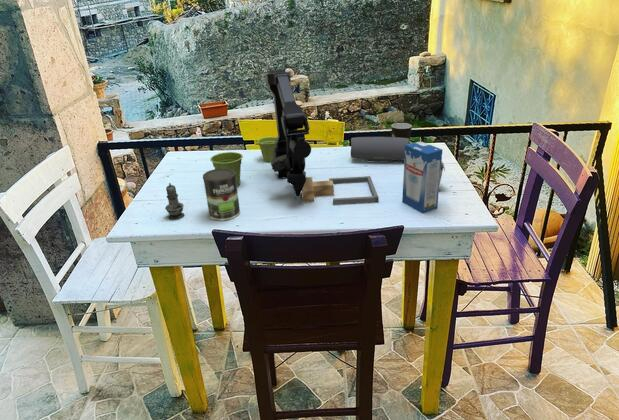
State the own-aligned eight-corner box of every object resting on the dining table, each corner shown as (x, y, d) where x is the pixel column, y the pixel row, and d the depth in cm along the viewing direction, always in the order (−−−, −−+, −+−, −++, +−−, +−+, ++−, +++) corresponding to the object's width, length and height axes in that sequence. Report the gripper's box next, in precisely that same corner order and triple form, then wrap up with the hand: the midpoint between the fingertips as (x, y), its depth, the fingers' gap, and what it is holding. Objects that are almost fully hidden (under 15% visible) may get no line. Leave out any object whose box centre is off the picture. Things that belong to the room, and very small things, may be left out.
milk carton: (402, 202, 151) (405, 144, 142) (416, 197, 154) (420, 141, 145) (422, 213, 143) (427, 153, 134) (437, 208, 146) (442, 149, 137)
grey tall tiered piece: (169, 212, 152) (162, 179, 147) (186, 211, 152) (180, 178, 147) (165, 221, 147) (158, 187, 141) (184, 219, 147) (177, 185, 142)
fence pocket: (333, 204, 152) (333, 200, 151) (329, 182, 168) (329, 178, 167) (378, 202, 152) (378, 197, 151) (370, 180, 168) (370, 176, 167)
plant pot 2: (257, 157, 195) (255, 138, 191) (278, 154, 198) (277, 135, 194) (261, 165, 187) (259, 145, 183) (283, 161, 190) (282, 141, 186)
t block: (302, 202, 154) (302, 191, 153) (301, 187, 165) (301, 177, 163) (334, 200, 155) (334, 189, 153) (331, 186, 165) (331, 176, 163)
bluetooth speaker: (407, 157, 188) (408, 133, 183) (407, 165, 180) (409, 141, 175) (352, 156, 192) (352, 133, 187) (350, 164, 184) (350, 140, 179)
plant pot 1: (252, 184, 170) (249, 155, 165) (227, 194, 163) (223, 165, 158) (233, 176, 178) (229, 149, 173) (208, 186, 170) (203, 158, 165)
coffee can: (244, 216, 147) (239, 176, 141) (213, 223, 144) (206, 183, 137) (235, 204, 156) (230, 165, 149) (206, 210, 152) (199, 171, 146)
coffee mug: (410, 151, 193) (411, 128, 189) (390, 151, 195) (390, 128, 191) (410, 142, 203) (412, 121, 199) (391, 142, 205) (392, 120, 201)
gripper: (272, 140, 160) (275, 181, 167) (269, 159, 144) (273, 203, 151) (304, 139, 160) (306, 180, 167) (305, 158, 144) (307, 202, 151)
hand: (297, 191), depth 159 cm, fingers open, 9 cm apart
